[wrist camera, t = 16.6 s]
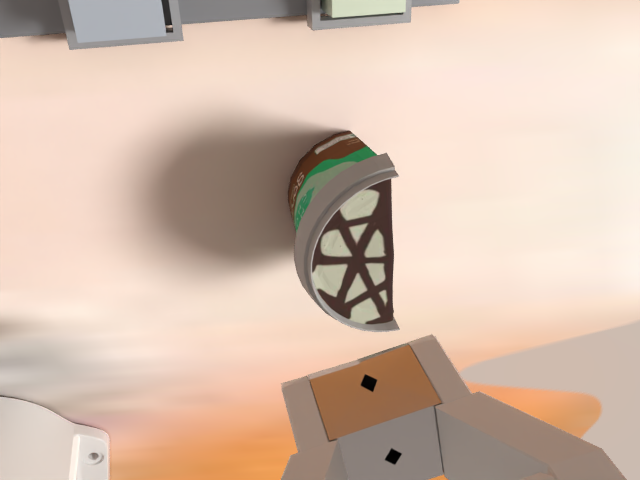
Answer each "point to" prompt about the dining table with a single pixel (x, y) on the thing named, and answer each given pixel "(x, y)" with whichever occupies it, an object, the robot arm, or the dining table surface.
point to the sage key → (362, 7)
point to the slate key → (117, 19)
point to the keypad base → (185, 17)
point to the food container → (345, 231)
